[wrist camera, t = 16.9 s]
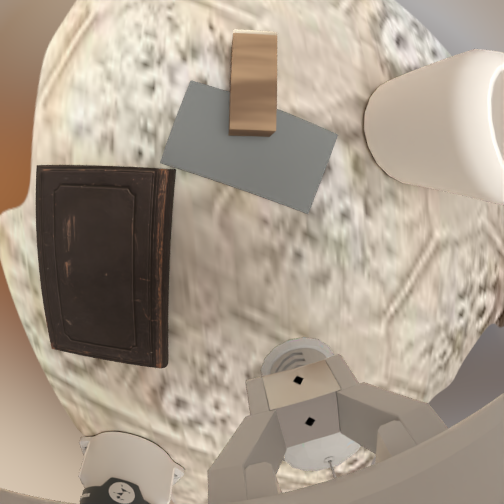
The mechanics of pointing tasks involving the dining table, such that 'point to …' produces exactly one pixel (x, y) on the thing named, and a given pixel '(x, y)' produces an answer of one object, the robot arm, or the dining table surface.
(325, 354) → the french press
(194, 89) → the rubber mat
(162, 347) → the hardcover book
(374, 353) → the dining table surface
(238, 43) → the walnut block
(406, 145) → the white lidded jar
